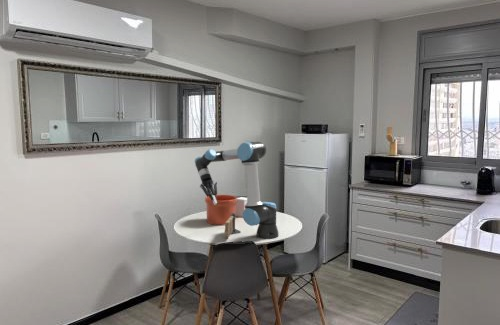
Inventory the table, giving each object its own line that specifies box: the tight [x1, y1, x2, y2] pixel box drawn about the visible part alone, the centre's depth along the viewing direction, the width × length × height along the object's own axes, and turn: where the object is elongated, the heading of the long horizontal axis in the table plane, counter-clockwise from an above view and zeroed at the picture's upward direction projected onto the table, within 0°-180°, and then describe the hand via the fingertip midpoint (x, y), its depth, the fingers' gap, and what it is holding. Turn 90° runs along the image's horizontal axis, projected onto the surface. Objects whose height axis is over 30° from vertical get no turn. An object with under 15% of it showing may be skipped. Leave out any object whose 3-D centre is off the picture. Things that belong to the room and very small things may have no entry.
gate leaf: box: [224, 216, 233, 240], centre depth 246 cm, size 18×2×10 cm, turn 172°
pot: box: [204, 194, 238, 226], centre depth 286 cm, size 25×25×19 cm
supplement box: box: [235, 196, 247, 218], centre depth 304 cm, size 9×9×15 cm
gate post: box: [230, 213, 241, 235], centre depth 257 cm, size 8×8×14 cm
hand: (215, 203), depth 252 cm, fingers closed
